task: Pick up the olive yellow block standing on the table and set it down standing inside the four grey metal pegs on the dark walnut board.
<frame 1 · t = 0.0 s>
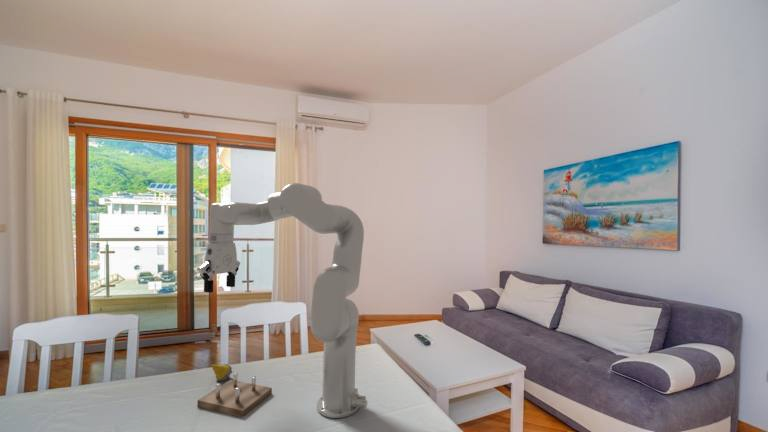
hand: (219, 289, 109), 31 cm above the table, fingers open, 9 cm apart
peg board: (236, 399, 98), on the table
olive yellow block: (221, 381, 109), on the table
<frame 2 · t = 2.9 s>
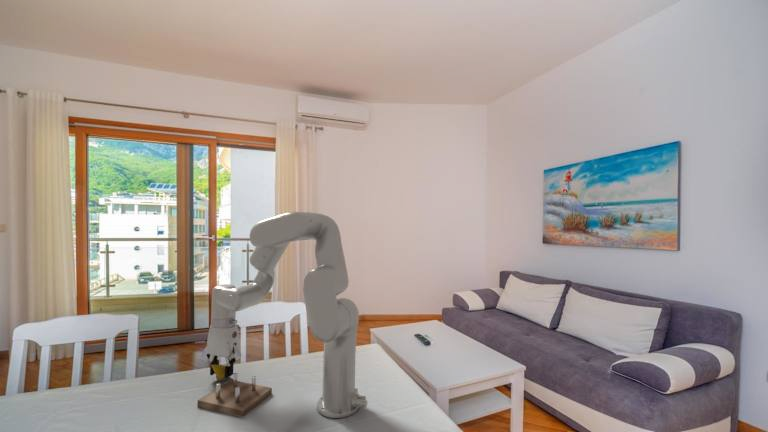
hand: (221, 374, 109), 2 cm above the table, fingers closed on olive yellow block, 5 cm apart
olive yellow block: (222, 381, 109), on the table, touching gripper
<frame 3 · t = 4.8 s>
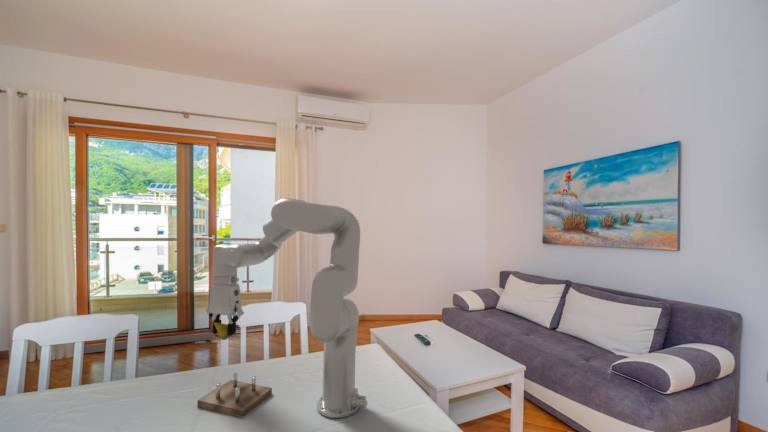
hand: (224, 333, 110), 16 cm above the table, fingers closed on olive yellow block, 5 cm apart
olive yellow block: (224, 340, 109), point 14 cm above the table, touching gripper
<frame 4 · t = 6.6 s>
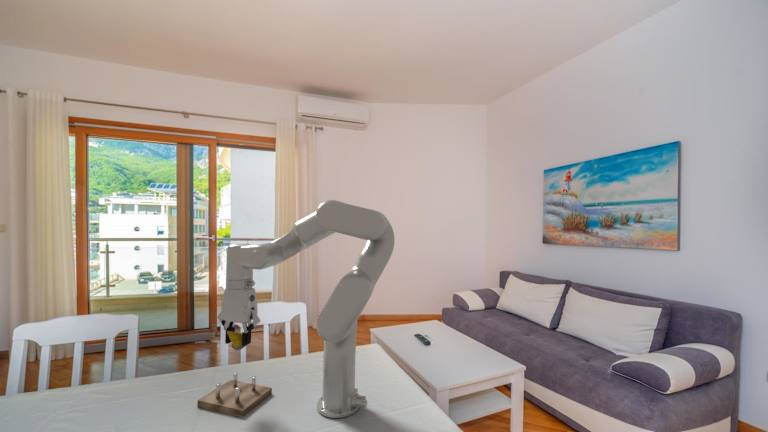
hand: (238, 342, 98), 17 cm above the table, fingers closed on olive yellow block, 5 cm apart
olive yellow block: (238, 350, 98), point 15 cm above the table, touching gripper
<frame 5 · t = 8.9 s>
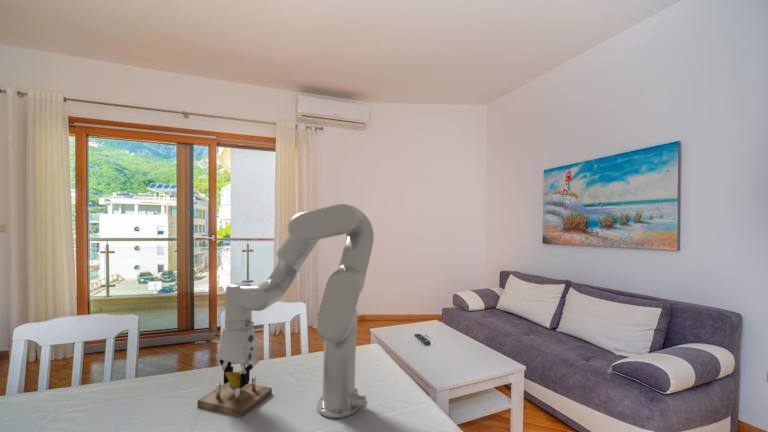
hand: (236, 382, 98), 5 cm above the table, fingers closed on olive yellow block, 5 cm apart
olive yellow block: (236, 390, 98), point 3 cm above the table, touching gripper
when the fingers open (4 cm above the table, at t = 10.6 s): olive yellow block stays where it is, resting on peg board.
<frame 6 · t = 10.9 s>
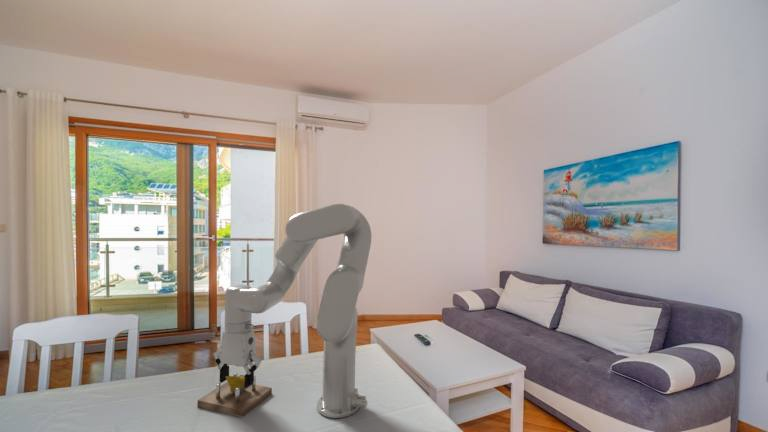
hand: (236, 383, 98), 5 cm above the table, fingers open, 8 cm apart
olive yellow block: (237, 394, 98), point 2 cm above the table, touching peg board
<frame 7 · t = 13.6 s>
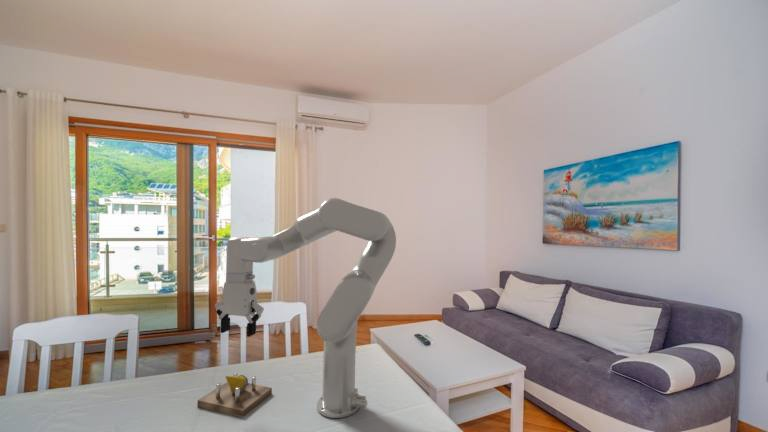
hand: (238, 333, 98), 20 cm above the table, fingers open, 9 cm apart
nothing on the table moved.
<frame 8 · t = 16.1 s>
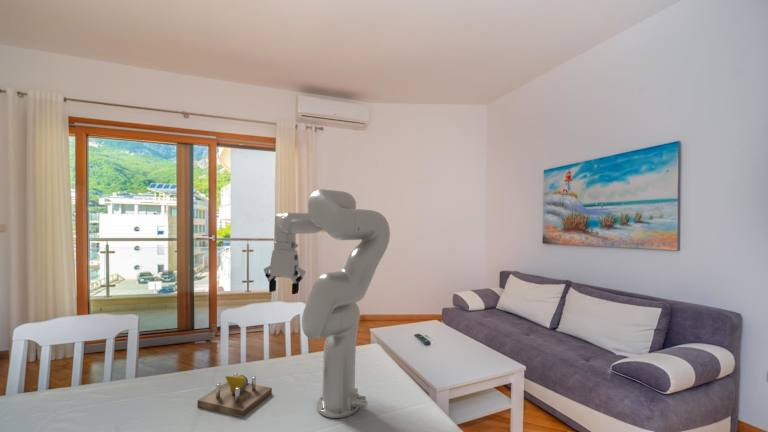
hand: (283, 292, 119), 28 cm above the table, fingers open, 9 cm apart
nothing on the table moved.
at the end: olive yellow block 0.4 cm off-centre on the peg board, point 1.6 cm above the peg board's base; olive yellow block tilted 0°; the gripper is holding nothing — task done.
